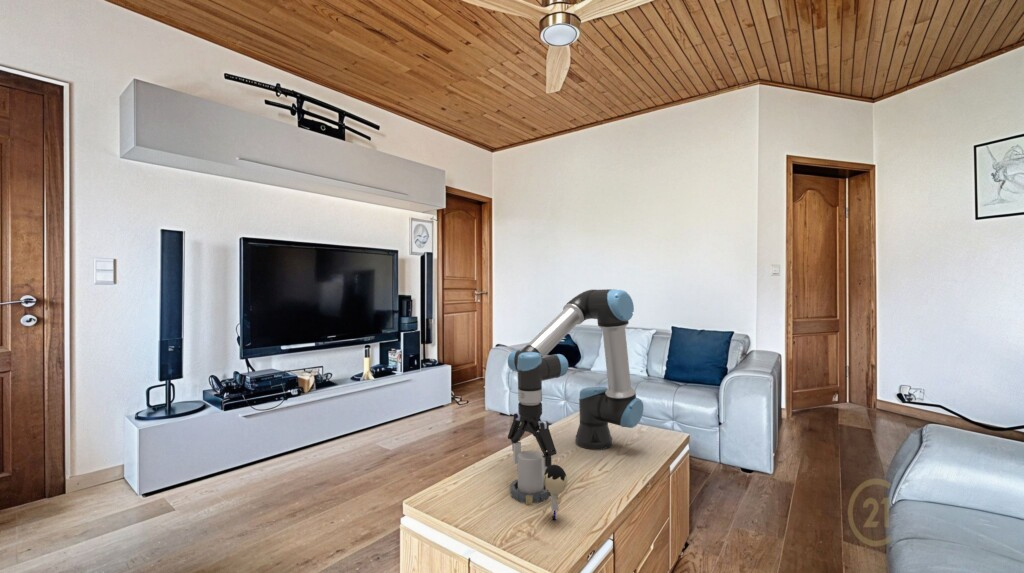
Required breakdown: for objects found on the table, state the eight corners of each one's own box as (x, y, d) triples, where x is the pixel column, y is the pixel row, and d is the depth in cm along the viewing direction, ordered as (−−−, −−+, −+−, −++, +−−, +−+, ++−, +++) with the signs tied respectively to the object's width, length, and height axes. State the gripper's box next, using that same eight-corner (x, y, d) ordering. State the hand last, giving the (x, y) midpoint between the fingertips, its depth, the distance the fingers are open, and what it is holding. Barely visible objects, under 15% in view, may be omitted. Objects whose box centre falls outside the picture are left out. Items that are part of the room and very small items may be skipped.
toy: (541, 512, 126) (541, 460, 126) (563, 510, 126) (563, 459, 126) (546, 528, 117) (545, 472, 117) (570, 527, 118) (569, 471, 118)
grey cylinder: (545, 488, 140) (545, 451, 140) (541, 500, 132) (541, 461, 132) (520, 486, 142) (520, 449, 142) (515, 498, 134) (515, 459, 134)
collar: (531, 481, 146) (531, 474, 146) (558, 494, 136) (558, 486, 136) (502, 492, 138) (502, 484, 138) (528, 507, 128) (528, 499, 128)
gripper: (496, 396, 144) (497, 460, 145) (549, 413, 125) (550, 486, 125) (513, 392, 149) (515, 454, 149) (567, 408, 130) (568, 478, 130)
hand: (531, 469), depth 137 cm, fingers open, 13 cm apart
